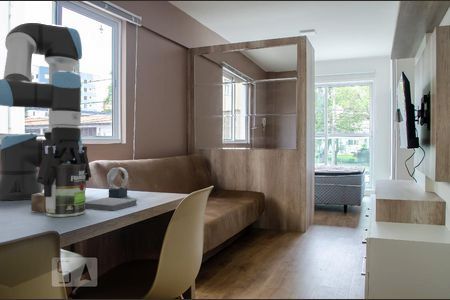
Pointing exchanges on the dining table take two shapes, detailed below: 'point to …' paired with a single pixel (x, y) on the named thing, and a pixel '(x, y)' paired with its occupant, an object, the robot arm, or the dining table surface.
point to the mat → (109, 203)
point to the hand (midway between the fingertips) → (66, 205)
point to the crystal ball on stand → (115, 191)
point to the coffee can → (69, 190)
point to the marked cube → (38, 203)
